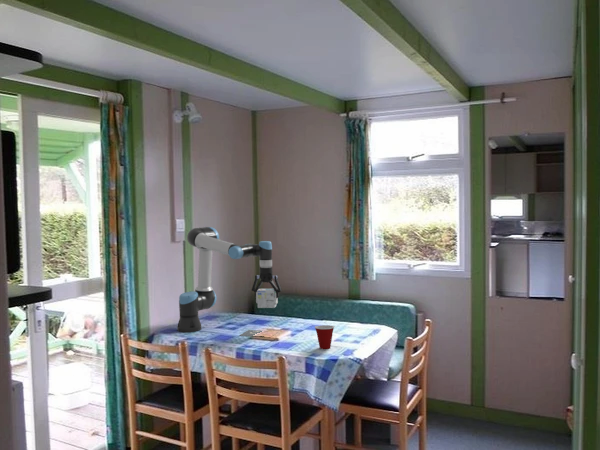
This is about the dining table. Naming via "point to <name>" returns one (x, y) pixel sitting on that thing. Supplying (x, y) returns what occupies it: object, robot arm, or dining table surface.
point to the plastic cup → (324, 336)
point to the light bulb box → (266, 298)
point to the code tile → (250, 333)
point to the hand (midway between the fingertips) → (266, 303)
